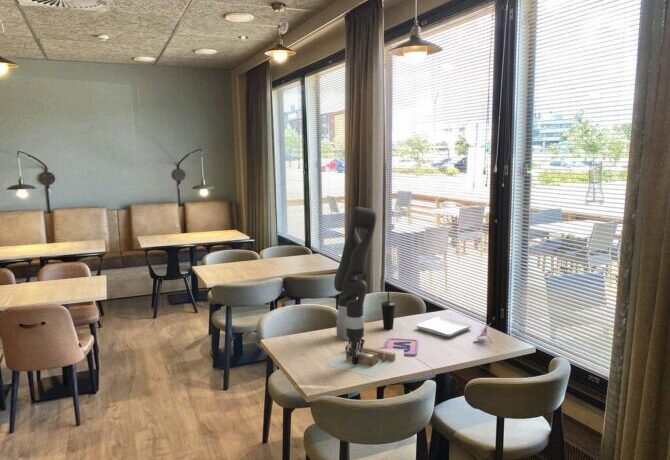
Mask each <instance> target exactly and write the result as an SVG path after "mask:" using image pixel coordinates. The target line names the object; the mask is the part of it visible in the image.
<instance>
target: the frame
mask: <svg viewBox="0 0 670 460" xmlns="http://www.w3.org/2000/svg"><path fill="white" fill-rule="evenodd" d="M345 352H346V351H345ZM346 361H350V362H352V356H349V355H348V353H347V352H346ZM358 363H359V364H363V365H367V366H372V367H373V366H374V365H375V364H377V363H378V353H374V352H369V351H365V350H362V351H361V353H359V356H358Z"/></svg>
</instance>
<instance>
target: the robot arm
mask: <svg viewBox="0 0 670 460" xmlns="http://www.w3.org/2000/svg"><path fill="white" fill-rule="evenodd" d="M377 217H378V213H377V210H375V209H372V208H368V207H361V206H355V207H353V210H352V211H351V215H350V220H349V226H348V230H347V234H346V235H347V236H346V240H345V242H344V246H343V250H342V255H341V259H340V262H339V266H338V268H337V270H336V273H335V276H334V280H333V282H334V283H333V286H334V289H335V291H337V292H339V293H342V294H343V295H341V296H339V298H338V299H337V318H336V338H338V339H339V340H342V341H348V342H347V344H349V346H348V347H346V346H345V349H344V350H345V352H346V351H347V353H348V355H349V356H352V364H354V365H357V364H358V356H359V353H361V351H362V348H363V347H364V344H365V339H362V338H364V337H365V324H364V323H365V321H364V320H365V319H364V303H365V298H366V296H367V292H368V283H367V282H366V280H364V279H358V276H364V275H365V273H366V270H367V263H368V257H369V256H368V255H369V252H370V248H371V246H372V245H371V244H372V241H373V237H374V233H375V229H376V224H377V219H378V218H377ZM357 228H358V229H362V230H366V233H365V235H364V237H363V238H362V239H361V238H360V236H359V233H358V230H357Z"/></svg>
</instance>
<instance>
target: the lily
mask: <svg viewBox="0 0 670 460" xmlns="http://www.w3.org/2000/svg"><path fill="white" fill-rule="evenodd" d="M491 324H492V322H490V323H489V324H488V325H486V326H485V327H484V328H483V330H481V329H479V332H481V333H480V335H477V338H478V339H479V338H480V337H487V338H488V339H489V341H490V342H492V339H491V338H490V337H489V335H488V328H489V326H490V325H491ZM472 342H475V340H473V341H472Z"/></svg>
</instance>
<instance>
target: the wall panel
mask: <svg viewBox="0 0 670 460" xmlns="http://www.w3.org/2000/svg"><path fill="white" fill-rule="evenodd" d="M348 346H349V344H348V343H347V344H346V345H345V348H346V347H348ZM362 350H365V351H369V352H374V353H378V363H377V364H375V365H374V366H373V367H372V366H367V365H363V364H359V363H358V364H357V365H354V364H352V362H350V361H346V352H347V351H346V350H345V352H343V353H341V354H340V355H338V356H337V357H335V358H334V359H332V360H330V361H329V362H327V363H326V364H325V366H326V367H331V368H335V369H339V370H344V371H348V372H350V373H355V374H359V375H364V376H368V377H371V378H376V376H378V375H380V373H381V372H383V371H384V370H386V369H387V368H388V367H389V366H390V365H391V364H393V363H394V362H395V361H396V352H395V353H393V352H388V351H384V350H381V349H375V348H370V347H366V346H363V348H362Z"/></svg>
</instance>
